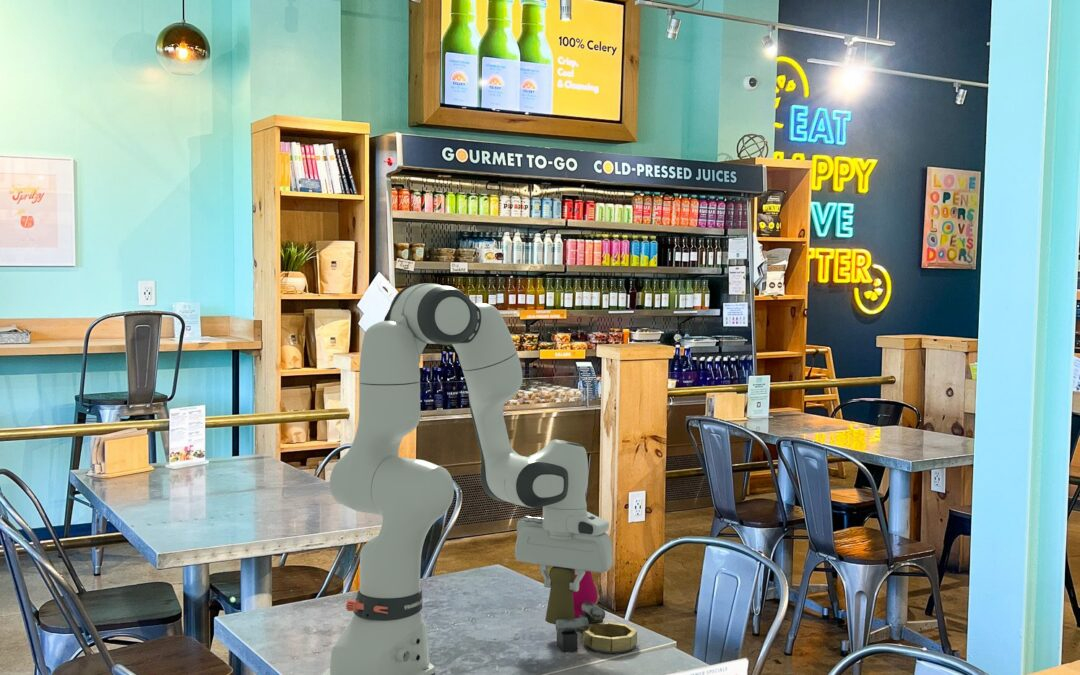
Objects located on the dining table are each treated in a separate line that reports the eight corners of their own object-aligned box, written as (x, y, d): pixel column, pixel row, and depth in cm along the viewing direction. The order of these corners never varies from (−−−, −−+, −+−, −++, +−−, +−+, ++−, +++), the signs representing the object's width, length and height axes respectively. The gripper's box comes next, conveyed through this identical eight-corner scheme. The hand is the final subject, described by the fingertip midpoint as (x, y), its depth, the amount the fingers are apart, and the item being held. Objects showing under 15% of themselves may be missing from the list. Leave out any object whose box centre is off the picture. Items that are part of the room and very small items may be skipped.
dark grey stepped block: (560, 653, 203) (560, 623, 203) (554, 646, 207) (554, 616, 207) (589, 650, 205) (590, 620, 205) (582, 644, 209) (583, 614, 208)
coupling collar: (626, 657, 201) (626, 641, 201) (575, 649, 205) (576, 634, 205) (642, 641, 211) (643, 626, 211) (594, 634, 215) (594, 619, 215)
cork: (580, 623, 211) (583, 568, 210) (554, 626, 208) (557, 570, 207) (565, 615, 216) (567, 561, 216) (539, 618, 213) (541, 564, 213)
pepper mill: (603, 615, 228) (605, 524, 227) (585, 624, 222) (587, 529, 221) (575, 609, 232) (576, 519, 231) (557, 617, 226) (558, 525, 225)
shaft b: (578, 629, 218) (578, 601, 217) (595, 627, 219) (596, 599, 219) (590, 638, 212) (590, 609, 212) (608, 636, 214) (608, 607, 213)
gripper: (510, 517, 213) (508, 585, 213) (606, 528, 205) (603, 599, 205) (523, 512, 219) (521, 579, 219) (616, 523, 210) (613, 592, 210)
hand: (561, 589), depth 212 cm, fingers closed on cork, 4 cm apart
